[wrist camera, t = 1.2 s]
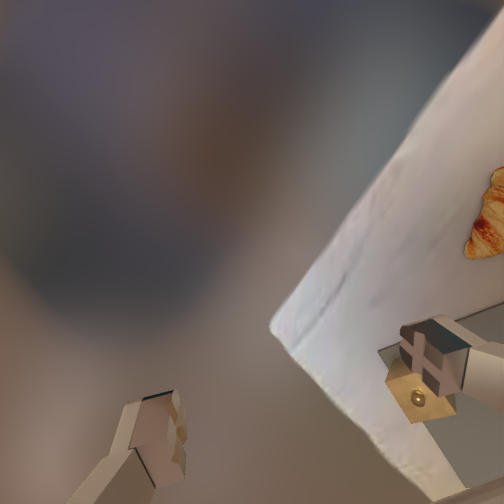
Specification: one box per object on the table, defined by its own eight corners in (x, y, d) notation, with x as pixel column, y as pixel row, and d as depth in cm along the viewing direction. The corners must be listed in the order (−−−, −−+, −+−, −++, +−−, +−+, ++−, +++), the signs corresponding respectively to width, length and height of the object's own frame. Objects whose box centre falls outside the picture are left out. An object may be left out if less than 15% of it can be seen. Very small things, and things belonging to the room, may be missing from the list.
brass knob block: (427, 347, 41) (425, 372, 34) (454, 384, 39) (457, 418, 32) (392, 360, 44) (383, 385, 37) (415, 394, 42) (410, 428, 35)
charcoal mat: (517, 297, 35) (518, 298, 35) (667, 468, 29) (672, 474, 28) (378, 350, 46) (377, 352, 45) (465, 483, 40) (465, 488, 39)
